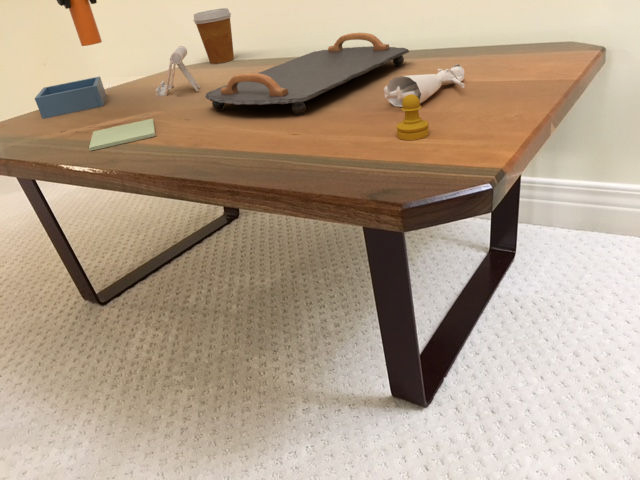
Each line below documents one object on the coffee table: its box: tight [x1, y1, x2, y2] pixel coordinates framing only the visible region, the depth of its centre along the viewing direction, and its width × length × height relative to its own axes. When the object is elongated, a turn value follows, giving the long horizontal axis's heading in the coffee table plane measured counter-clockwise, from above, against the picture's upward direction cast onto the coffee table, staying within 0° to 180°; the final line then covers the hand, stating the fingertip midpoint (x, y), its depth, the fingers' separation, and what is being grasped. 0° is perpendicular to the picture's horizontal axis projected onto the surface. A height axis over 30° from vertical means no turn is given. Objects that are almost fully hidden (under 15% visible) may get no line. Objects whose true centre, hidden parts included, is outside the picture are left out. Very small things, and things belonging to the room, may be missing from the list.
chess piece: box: [395, 94, 430, 141], centre depth 66 cm, size 4×4×5 cm
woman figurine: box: [383, 63, 466, 107], centre depth 81 cm, size 12×4×18 cm
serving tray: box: [205, 32, 410, 117], centre depth 97 cm, size 39×23×6 cm, turn 143°
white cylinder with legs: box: [155, 46, 201, 98], centre depth 109 cm, size 9×8×8 cm
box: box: [34, 76, 107, 120], centre depth 110 cm, size 12×12×5 cm
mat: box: [88, 118, 157, 152], centre depth 88 cm, size 10×10×1 cm
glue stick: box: [68, 0, 103, 47], centre depth 80 cm, size 3×3×10 cm
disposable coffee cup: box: [192, 7, 235, 65], centre depth 137 cm, size 10×10×12 cm
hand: (81, 1), depth 78 cm, fingers closed on glue stick, 3 cm apart
